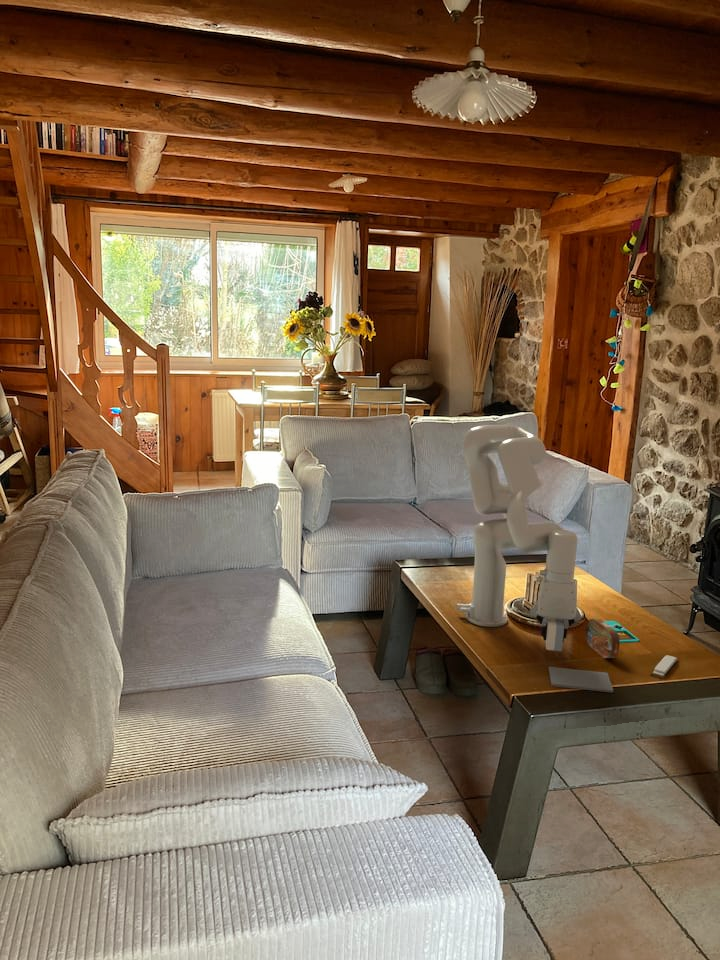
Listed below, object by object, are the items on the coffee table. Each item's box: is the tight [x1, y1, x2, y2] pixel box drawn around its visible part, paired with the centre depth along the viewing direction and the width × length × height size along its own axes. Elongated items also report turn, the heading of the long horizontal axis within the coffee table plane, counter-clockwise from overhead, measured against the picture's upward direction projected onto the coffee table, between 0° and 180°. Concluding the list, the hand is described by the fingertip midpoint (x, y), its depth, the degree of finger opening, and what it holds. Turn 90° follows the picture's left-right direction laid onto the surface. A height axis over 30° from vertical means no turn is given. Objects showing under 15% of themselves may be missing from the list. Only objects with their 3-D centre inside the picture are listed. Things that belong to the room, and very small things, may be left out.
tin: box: [585, 618, 621, 659], centre depth 212 cm, size 15×3×8 cm, turn 10°
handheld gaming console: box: [603, 620, 640, 643], centre depth 227 cm, size 8×1×15 cm
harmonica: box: [650, 654, 679, 680], centre depth 203 cm, size 15×3×2 cm, turn 143°
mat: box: [548, 666, 614, 693], centre depth 194 cm, size 15×10×1 cm, turn 80°
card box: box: [544, 618, 564, 652], centre depth 206 cm, size 4×9×7 cm, turn 170°
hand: (553, 638), depth 207 cm, fingers closed on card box, 3 cm apart
